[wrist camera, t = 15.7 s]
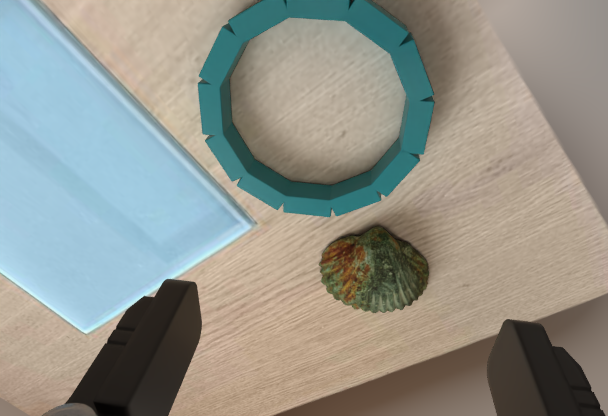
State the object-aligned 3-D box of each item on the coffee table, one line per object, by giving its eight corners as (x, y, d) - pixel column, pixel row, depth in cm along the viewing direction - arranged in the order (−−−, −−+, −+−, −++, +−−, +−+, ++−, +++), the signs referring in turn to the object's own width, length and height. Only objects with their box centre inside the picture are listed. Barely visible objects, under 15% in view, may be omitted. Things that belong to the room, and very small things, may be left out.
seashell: (311, 333, 38) (326, 245, 33) (312, 300, 42) (326, 216, 36) (421, 345, 38) (454, 260, 33) (413, 311, 42) (442, 229, 36)
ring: (277, -71, 26) (269, -72, 24) (477, 79, 29) (485, 89, 27) (177, 131, 34) (165, 144, 32) (341, 231, 37) (340, 248, 35)
